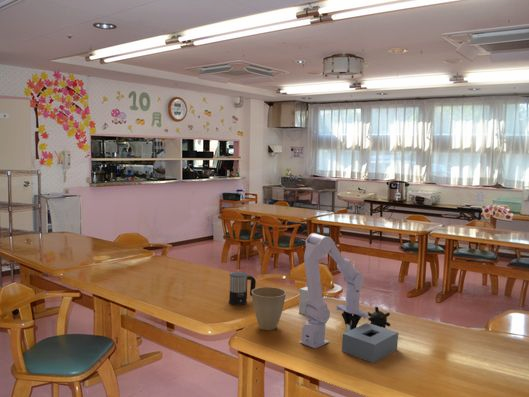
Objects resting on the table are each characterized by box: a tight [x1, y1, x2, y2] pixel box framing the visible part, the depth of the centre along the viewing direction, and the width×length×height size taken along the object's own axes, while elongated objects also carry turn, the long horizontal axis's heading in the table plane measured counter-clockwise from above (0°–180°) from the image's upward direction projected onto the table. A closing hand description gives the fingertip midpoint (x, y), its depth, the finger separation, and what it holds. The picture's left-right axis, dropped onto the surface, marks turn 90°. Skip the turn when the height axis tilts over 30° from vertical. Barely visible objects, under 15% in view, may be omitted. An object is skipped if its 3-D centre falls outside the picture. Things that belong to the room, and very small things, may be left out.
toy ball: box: [367, 306, 391, 328], centre depth 204 cm, size 10×10×11 cm
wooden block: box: [345, 322, 351, 332], centre depth 196 cm, size 5×2×5 cm, turn 136°
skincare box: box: [298, 286, 309, 316], centre depth 221 cm, size 6×4×12 cm
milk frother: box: [228, 271, 257, 306], centre depth 237 cm, size 14×16×15 cm
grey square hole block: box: [341, 322, 399, 364], centre depth 181 cm, size 18×14×7 cm
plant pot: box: [251, 286, 287, 331], centre depth 200 cm, size 15×15×16 cm
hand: (350, 330), depth 196 cm, fingers closed on wooden block, 2 cm apart
